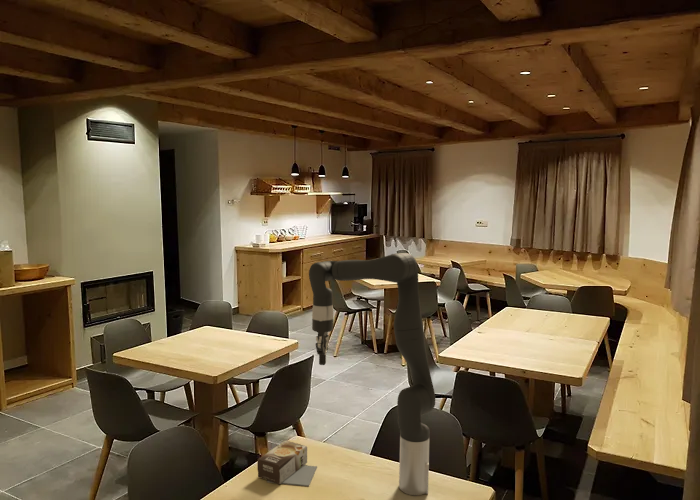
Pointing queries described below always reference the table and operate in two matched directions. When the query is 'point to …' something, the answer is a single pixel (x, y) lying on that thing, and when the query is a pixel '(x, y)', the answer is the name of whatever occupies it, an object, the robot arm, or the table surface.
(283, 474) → the coffee box
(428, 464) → the robot arm
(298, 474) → the rubber mat
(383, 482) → the table surface
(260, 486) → the table surface
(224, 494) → the table surface
